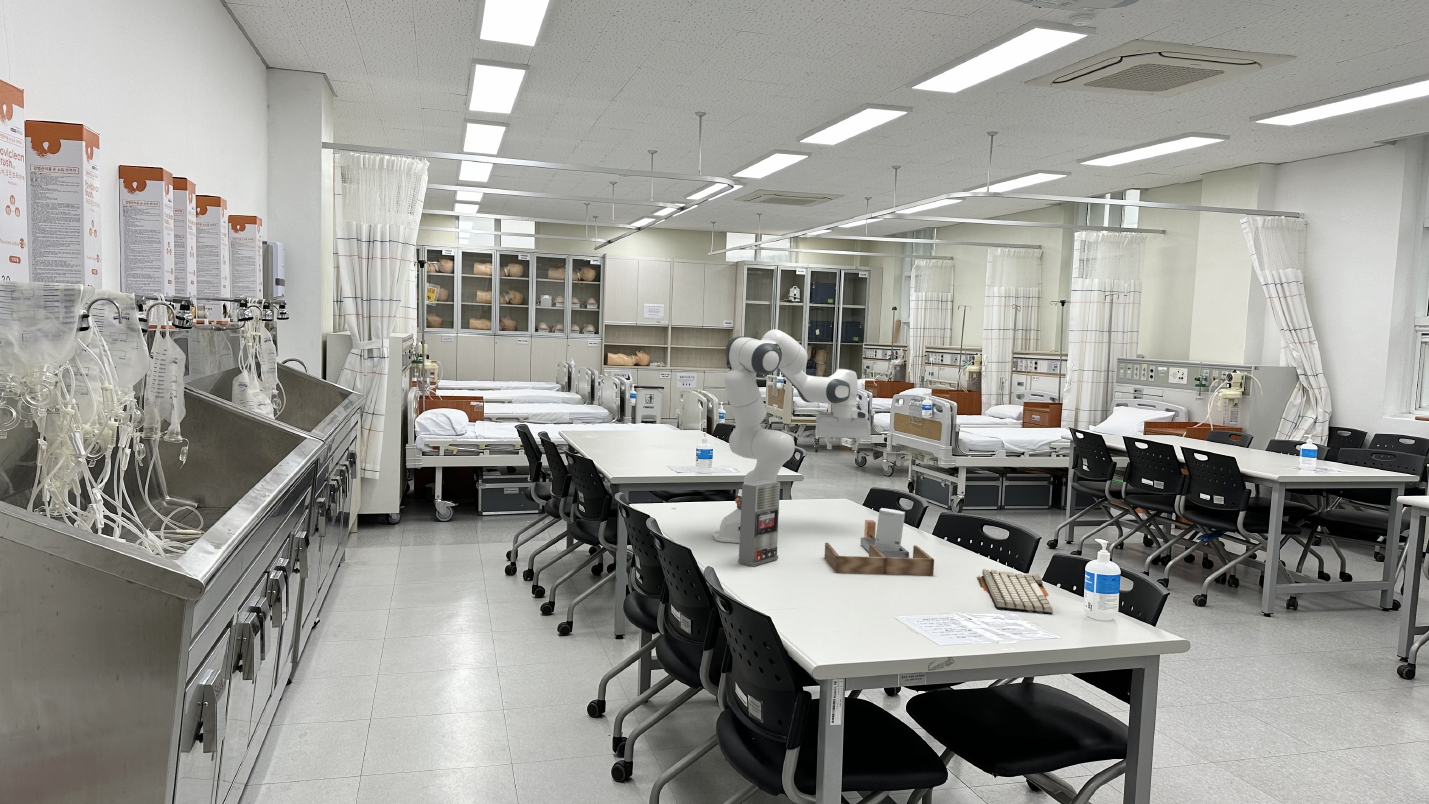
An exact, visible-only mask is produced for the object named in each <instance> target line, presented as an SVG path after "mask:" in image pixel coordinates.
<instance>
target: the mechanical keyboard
mask: <svg viewBox="0 0 1429 804" xmlns="http://www.w3.org/2000/svg"><path fill="white" fill-rule="evenodd" d="M981 573H982V575H981V576H976V580H977V582H978V585H979V587H980V588H982V589H983V591H984V592H986V593H987V595H988V596H989V598H990V599H991V601H992V603H993V606H994V608H995V609H996V610H1000V611H1006V612H1016V613H1026V614H1027V613H1028V614H1029V613H1030V614H1034V613H1036V614H1046V615H1049V614H1051V615H1052V614H1053V613H1054V611H1053V607H1052V605H1051V604H1050V602H1049V600H1048V599H1047V597H1049V595H1050V594H1049V592H1048V591H1047V590H1046V588H1045V587H1044V585H1043V584H1044V583H1043V579H1042V578H1041V576H1040V575H1039V574H1038V573H1034V574H1032V575H1031V574H1030V572H1029V573H1022V572H1016V573H1014V572H1011V571H1001V570H999V572H998V570H996V569H991V570H989V569H986V568H983V569H982V572H981Z"/></svg>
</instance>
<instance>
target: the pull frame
mask: <svg viewBox="0 0 1429 804" xmlns="http://www.w3.org/2000/svg"><path fill="white" fill-rule="evenodd" d="M876 530H877V522H876V521H875V520H874V519H865V520H864V534H863V536H864V538H862V537H861V538H860V545H861V546H862V547H863V548H864V549H865V550H866V551H867V552H868V553H869V544H873V545H874V546H875V539H876ZM880 552H881V553H882V554H883V555H885V556H886V557H893V558H910V552H909V551H908V550H907V549H906V548H905V547H903V546H902V545H901V546H900V551H880Z"/></svg>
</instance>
